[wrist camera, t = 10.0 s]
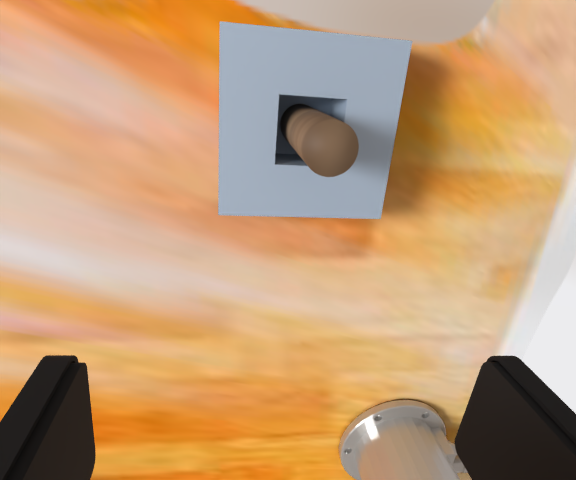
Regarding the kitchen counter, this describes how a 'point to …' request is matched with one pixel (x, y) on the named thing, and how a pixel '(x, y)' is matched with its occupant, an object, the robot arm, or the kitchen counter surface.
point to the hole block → (317, 94)
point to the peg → (320, 140)
